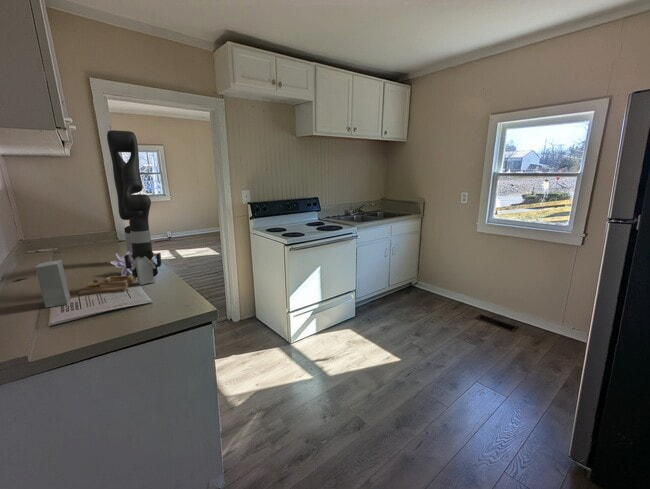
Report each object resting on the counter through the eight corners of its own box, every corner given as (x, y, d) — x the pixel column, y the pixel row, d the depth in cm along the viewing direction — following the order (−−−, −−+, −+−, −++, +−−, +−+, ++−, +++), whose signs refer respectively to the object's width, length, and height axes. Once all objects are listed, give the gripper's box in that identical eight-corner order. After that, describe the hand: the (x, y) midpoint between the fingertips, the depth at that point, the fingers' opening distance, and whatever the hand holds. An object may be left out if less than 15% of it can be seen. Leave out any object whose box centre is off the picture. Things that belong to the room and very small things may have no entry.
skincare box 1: (67, 304, 113) (60, 264, 109) (42, 309, 109) (33, 266, 106) (71, 297, 120) (64, 258, 116) (47, 301, 116) (39, 261, 113)
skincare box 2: (152, 279, 140) (149, 254, 138) (155, 282, 137) (152, 256, 135) (137, 282, 136) (134, 257, 133) (139, 285, 133) (136, 259, 130)
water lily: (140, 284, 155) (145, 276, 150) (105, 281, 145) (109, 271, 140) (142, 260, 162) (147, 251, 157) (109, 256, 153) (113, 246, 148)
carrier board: (96, 282, 137) (95, 275, 136) (136, 279, 141) (135, 273, 141) (79, 295, 122) (77, 287, 121) (124, 291, 126) (123, 284, 126)
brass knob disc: (91, 283, 132) (90, 278, 131) (105, 282, 133) (104, 277, 133) (86, 287, 127) (85, 281, 127) (100, 286, 128) (99, 281, 128)
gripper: (161, 238, 138) (165, 272, 141) (125, 239, 134) (130, 275, 138) (157, 241, 131) (161, 278, 134) (119, 243, 127) (124, 280, 130)
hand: (145, 276), depth 136 cm, fingers closed on skincare box 2, 7 cm apart
